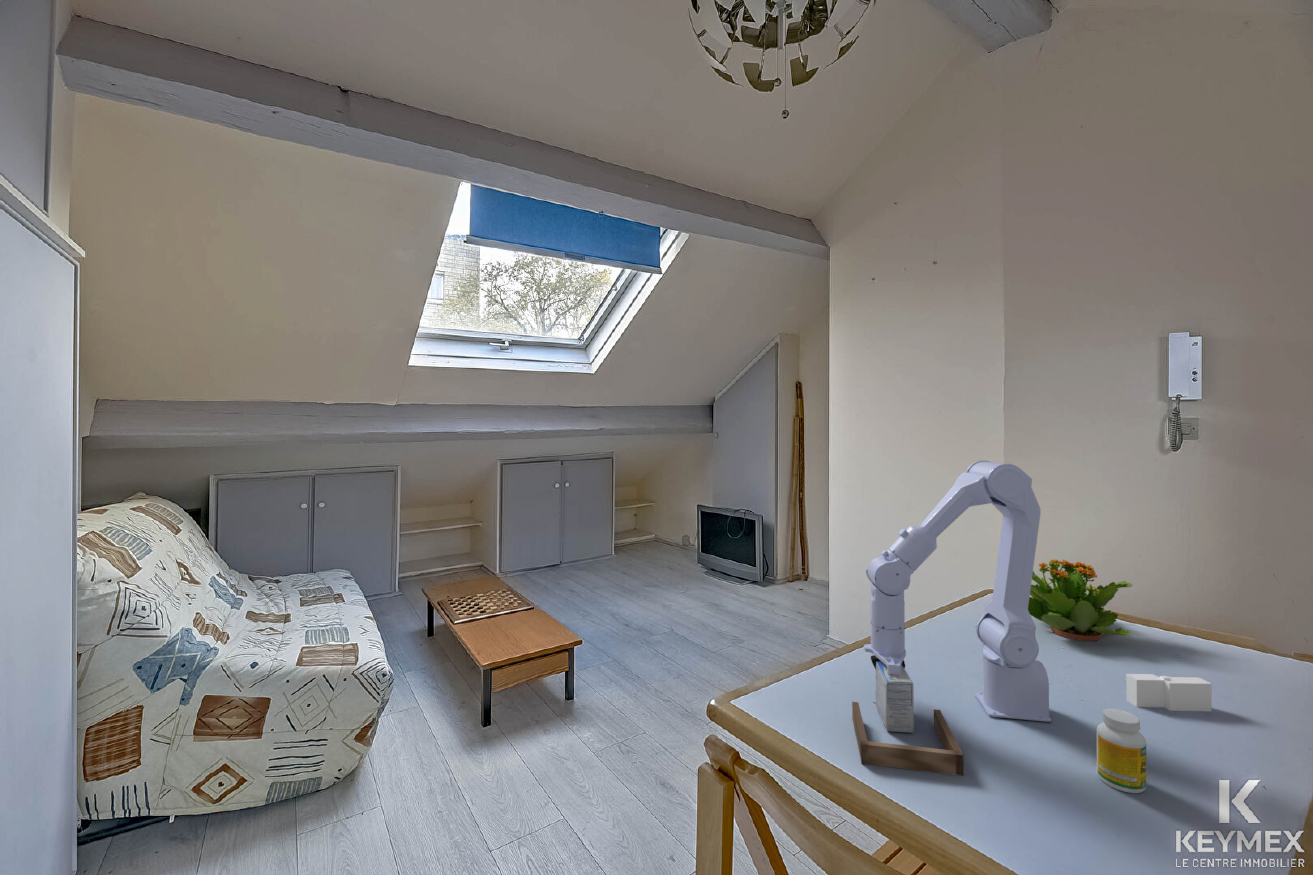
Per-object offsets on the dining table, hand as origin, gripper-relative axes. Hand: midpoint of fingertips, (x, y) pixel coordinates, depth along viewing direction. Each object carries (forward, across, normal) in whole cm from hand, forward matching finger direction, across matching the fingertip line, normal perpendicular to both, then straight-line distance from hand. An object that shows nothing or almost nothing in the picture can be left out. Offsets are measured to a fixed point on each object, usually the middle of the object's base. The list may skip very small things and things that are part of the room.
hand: (887, 697), depth 100 cm
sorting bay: (+1, +12, 0) cm, 12 cm away
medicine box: (+1, +6, 0) cm, 6 cm away
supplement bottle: (+1, +16, +28) cm, 33 cm away
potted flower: (+1, -43, +48) cm, 64 cm away
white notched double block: (+2, -10, +48) cm, 49 cm away
